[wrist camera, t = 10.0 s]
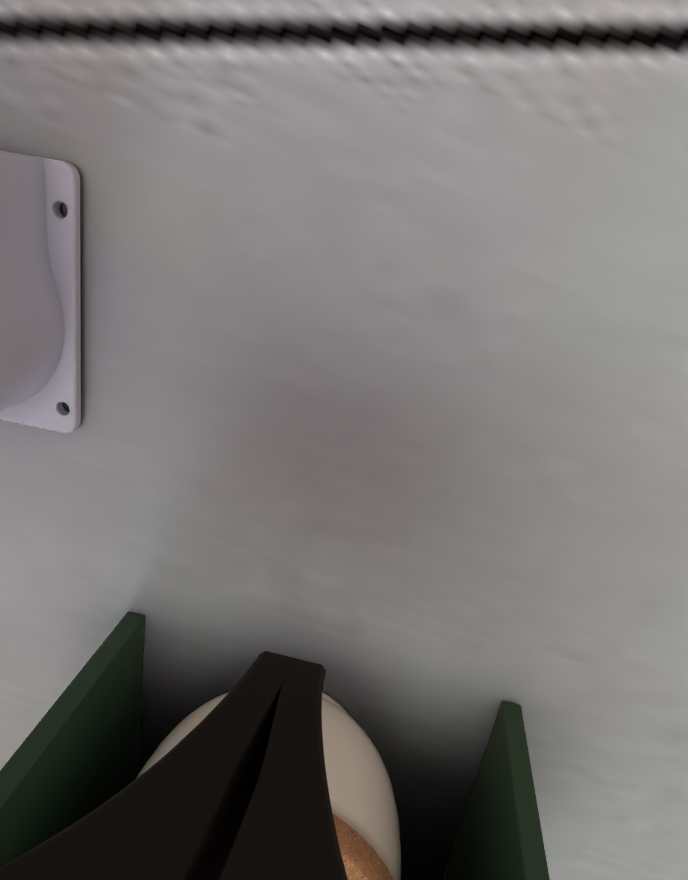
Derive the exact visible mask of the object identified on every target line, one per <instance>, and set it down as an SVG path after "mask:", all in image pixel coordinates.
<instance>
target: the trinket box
mask: <svg viewBox="0 0 688 880" xmlns="http://www.w3.org/2000/svg"><path fill="white" fill-rule="evenodd" d="M228 693H229V692H228ZM228 693H225V694H223V695H221V696H218V697H216V698H214V699H212V700H210V701H208V702H207V703H205V704H204V705H202V706H200V707H199V708H197V709H196V710H195V711H193V712H192V713H191V714H190V715H188V716H187V717H186V718H185V719H184V720H182V721H181V722H180V723H179V724H178V725H177V726H176V727H175V728H174V729H173V730H172V731H171V732H170V734H169V735H168V736H167V737H166V738H165V739H164V740H163V741H162V742H161V744H160V745H159V746H158V748H157V749H156V750H155V752H154V753H153V754H152V756H151V757H150V759H149V760H148V761H147V763H146V764H145V766H144V767H143V768H142V770H141V771H140V773H139V774H138V776H137V777H136V779H137V778H138V777H139V776H140V775H142V774H143V773H144V772H145V771H147V770H148V769H149V768H150V767H152V766H153V765H154V764H155V763H156V762H158V761H159V760H160V759H161V758H162V757H163V756H165V755H166V754H167V753H168V752H169V751H170V750H171V749H172V748H174V747H175V746H176V745H177V744H178V743H179V742H180V741H181V740H182V739H183V738H184V737H185V736H186V735H187V734H189V733H190V732H191V731H192V730H193V729H194V728H195V727H196V726H197V725H198V724H199V723H200V722H201V721H202V720H203V719H204V718H205V717H206V716H207V715H208V714H209V713H210V712H211V711H212V710H213V709H214V708H215V707H216V706H217V705H218V704H219V703H220V701H221V700H222V699H223V698H224V697H225V696H226V695H227V694H228ZM322 735H323V747H324V759H325V768H326V776H327V782H328V789H329V796H330V802H331V808H332V813H333V818H334V823H335V828H336V833H337V837H338V842H339V847H340V851H341V855H342V859H343V863H344V867H345V871H346V875H347V879H348V880H401V847H400V831H399V818H398V812H397V806H396V801H395V796H394V792H393V788H392V784H391V781H390V778H389V775H388V773H387V770H386V767H385V765H384V763H383V761H382V759H381V756H380V754H379V752H378V751H377V749H376V748H375V746H374V744H373V743H372V741H371V740H370V738H369V737H368V736H367V734H366V733H365V731H364V730H363V729H362V728H361V727H360V726H359V725H358V724H357V723H356V722H355V721H354V720H353V719H352V718H351V717H350V716H349V714H348V713H347V712H346V710H345V709H344V708H343V707H342V706H341V705H340V704H339V703H338V702H336V701H335V700H334V699H333V698H331V697H330V696H328V695H326V694H325V693H323V692H322Z"/></svg>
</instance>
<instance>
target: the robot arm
mask: <svg viewBox="0 0 688 880" xmlns="http://www.w3.org/2000/svg"><path fill="white" fill-rule="evenodd" d="M62 203H64V204H65V205H66V206H67V210H68V212H67V216H66V217H63V215H62V214H61V212H60V205H61V204H62ZM63 402H64V403H66V404H67V405H68V406H69V410H70V411H69V412H67V411H66V410H65V409H64V408H63V405H62V404H63ZM0 420H5V421H10V422H14V423H19V424H24V425H28V426H33V427H38V428H42V429H47V430H52V431H57V432H61V433H70V432H72V431H74V430H76V429H77V428H78V427H79V426H80V422H81V309H80V176H79V173H78V171H77V169H76V167H74V166H73V165H72V164H71V163H69V162H66V161H61V160H55V159H49V158H44V157H38V156H32V155H26V154H20V153H14V152H9V151H3V150H0ZM325 673H326V670H325V669H324V667H323V666H322V665H320V664H316V663H312V662H308V661H304V660H300V659H296V658H292V657H288V656H284V655H280V654H276V653H271V652H267V651H265V652H263V653H261V654H260V655H259V656H258V658H257V659H256V660H255V662H254V663H253V664H252V666H251V667H250V668H249V669H248V671H247V672H246V673H245V674H244V676H243V677H242V678H241V679H240V680H239V682H238V683H237V684H236V685H235V686H234V687H233V688H232V690H231V691H230V692H229V693H228V694H227V695H226V696H225V697H224V698H223V699H222V700H221V701H220V703H219V704H218V705H217V706H216V707H215V708H214V709H213V710H212V711H211V712H210V713H209V714H208V715H207V716H206V717H205V718H204V719H203V720H202V721H201V722H200V723H199V724H198V725H197V726H196V727H195V728H194V729H193V730H192V731H191V732H190V733H189V734H187V735H186V736H185V737H184V738H183V739H182V740H181V741H180V742H179V743H178V744H177V745H176V746H175V747H174V748H172V749H171V750H170V751H169V752H168V753H167V754H166V755H165V756H163V757H162V758H161V759H160V760H159V761H158V762H156V763H155V764H154V765H153V766H152V767H150V768H149V769H148V770H147V771H145V772H144V773H143V774H142V775H140V776H139V777H138V778H137V779H135V780H134V781H133V782H132V783H130V784H129V785H128V786H126V787H125V788H124V789H122V790H121V791H120V792H118V793H117V794H115V795H114V796H113V797H111V798H110V799H109V800H107V801H106V802H104V803H103V804H102V805H100V806H99V807H98V808H96V809H95V810H93V811H92V812H90V813H89V814H87V815H86V816H85V817H83V818H82V819H80V820H79V821H77V822H76V823H74V824H72V825H71V826H69V827H67V828H66V829H64V830H63V831H61V832H59V833H58V834H56V835H55V836H53V837H51V838H50V839H48V840H46V841H45V842H43V843H42V844H40V845H38V846H37V847H35V848H34V849H32V850H30V851H29V852H27V853H25V854H23V855H22V856H20V857H18V858H17V859H15V860H13V861H11V862H9V863H7V864H6V865H4V866H2V867H0V880H348V879H347V875H346V871H345V867H344V863H343V859H342V855H341V851H340V847H339V842H338V837H337V833H336V828H335V823H334V818H333V813H332V808H331V802H330V796H329V789H328V782H327V776H326V768H325V759H324V747H323V735H322V690H323V684H324V678H325Z"/></svg>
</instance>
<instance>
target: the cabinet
mask: <svg viewBox="0 0 688 880" xmlns="http://www.w3.org/2000/svg"><path fill="white" fill-rule="evenodd" d="M144 622H145V616H143V615H139V614H135V613H131V612H127V614H126V615H125V616H124V617H123V619H122V620H121V621H120V622H119V624H118V625H117V626H116V627H115V629H114V630H113V631H112V632H111V634H110V635H109V636H108V637H107V639H106V640H105V641H104V642H103V644H102V645H101V646H100V647H99V649H98V650H97V651H96V652H95V654H94V655H93V656H92V657H91V659H90V660H89V661H88V662H87V664H86V665H85V666H84V667H83V669H82V670H81V671H80V672H79V673H78V675H77V676H76V677H75V678H74V680H73V681H72V682H71V683H70V685H69V686H68V687H67V688H66V690H65V691H64V692H63V693H62V695H61V696H60V697H59V698H58V700H57V701H56V702H55V703H54V705H53V706H52V707H51V708H50V710H49V711H48V712H47V713H46V715H45V716H44V717H43V718H42V720H41V721H40V722H39V723H38V725H37V726H36V727H35V728H34V730H33V731H32V732H31V733H30V735H29V736H28V737H27V738H26V740H25V741H24V742H23V743H22V745H21V746H20V747H19V748H18V750H17V751H16V752H15V753H14V755H13V756H12V757H11V758H10V759H9V761H8V762H7V763H6V764H5V766H4V767H3V768H2V769H1V771H0V867H2V866H4V865H6V864H7V863H9V862H11V861H13V860H15V859H17V858H18V857H20V856H22V855H23V854H25V853H27V852H29V851H30V850H32V849H34V848H35V847H37V846H38V845H40V844H42V843H43V842H45V841H46V840H48V839H50V838H51V837H53V836H55V835H56V834H58V833H59V832H61V831H63V830H64V829H66V828H67V827H69V826H71V825H72V824H74V823H76V822H77V821H79V820H80V819H82V818H83V817H85V816H86V815H87V814H89V813H90V812H92V811H93V810H95V809H96V808H98V807H99V806H100V805H102V804H103V803H104V802H106V801H107V800H109V799H110V798H111V797H113V796H114V795H115V794H117V793H118V792H120V791H121V790H122V789H124V788H125V787H126V786H128V785H129V784H130V783H132V782H133V781H134V780H135V779H136V777H137V776H138V755H139V733H140V711H141V688H142V666H143V644H144ZM443 880H549V874H548V868H547V862H546V856H545V850H544V844H543V837H542V831H541V825H540V819H539V813H538V807H537V801H536V795H535V789H534V783H533V777H532V771H531V765H530V759H529V753H528V746H527V740H526V734H525V728H524V722H523V716H522V710H521V706H520V705H516V704H512V703H508V702H502V704H501V707H500V710H499V713H498V716H497V719H496V722H495V725H494V728H493V731H492V734H491V737H490V740H489V743H488V746H487V749H486V752H485V755H484V758H483V761H482V764H481V767H480V770H479V773H478V776H477V779H476V782H475V785H474V788H473V791H472V794H471V797H470V800H469V803H468V806H467V809H466V812H465V815H464V818H463V821H462V824H461V827H460V830H459V833H458V836H457V839H456V842H455V845H454V848H453V852H452V855H451V858H450V861H449V864H448V867H447V870H446V873H445V876H444V879H443Z"/></svg>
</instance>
